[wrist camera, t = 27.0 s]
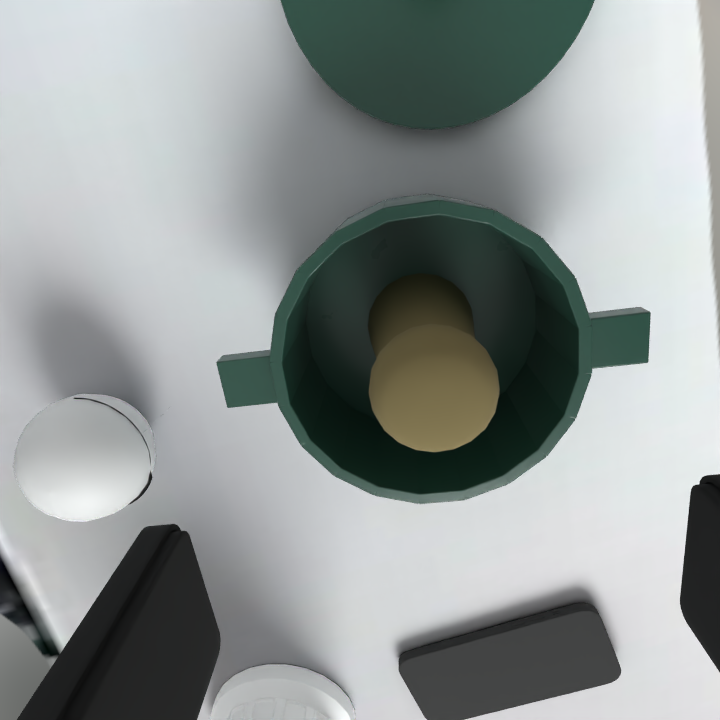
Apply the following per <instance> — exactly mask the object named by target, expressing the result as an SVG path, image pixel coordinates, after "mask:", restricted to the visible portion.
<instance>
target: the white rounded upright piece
mask: <svg viewBox="0 0 720 720" xmlns="http://www.w3.org/2000/svg"><path fill="white" fill-rule="evenodd" d="M169 408H170V407H169ZM162 415H163V414H162ZM155 460H156V451H155V443H154V436H153V432H152V430H151V428H150V426H149V424H148V422H147V420H146V419H145V418H144V417H143V416H142V415H141V413H140V412H139V411H138V410H137V409H136V408H134V407H133V406H131V405H130V404H128V403H127V402H125V401H123V400H121V399H118V398H115V397H112V396H109V395H100V394H78V395H75V396H71V397H67V398H64V399H62V400H59V401H57V402H54V403H52V404H50V405H48V406H47V407H46V408H44V409H43V410H42V411H40V412H39V413H38V414H37V415H36V416H35V417H34V418H33V419H32V420H31V421H30V422H29V423H28V424H27V425H26V427H25V429H24V430H23V432H22V434H21V435H20V437H19V439H18V442H17V446H16V450H15V455H14V463H13V468H14V473H15V477H16V481H17V483H18V485H19V487H20V489H21V491H22V492H23V494H24V496H25V497H26V499H27V500H28V501H29V502H30V503H31V504H32V505H33V506H34V507H35V508H37V509H38V510H40V511H42V512H44V513H45V514H47V515H50V516H53V517H56V518H60V519H63V520H66V521H77V522H86V521H90V520H94V519H98V518H102V517H105V516H109V515H112V514H114V513H116V512H118V511H119V510H121V509H122V508H124V507H125V506H127V505H129V504H131V503H133V502H134V501H136V500H137V499H139V498H140V497H141V496H142V495H143V494H144V492H145V491H146V490H147V488H148V487H149V485H150V483H151V480H152V472H153V469H154V464H155Z"/></svg>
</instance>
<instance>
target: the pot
mask: <svg viewBox="0 0 720 720" xmlns="http://www.w3.org/2000/svg"><path fill="white" fill-rule="evenodd" d="M418 273H423V274H432V275H438V276H440V277H442V278H444V279H446V280H448V281H451V282H452V283H453V284H454V285H456V286H457V287H458V288H459V289H460V290H461V291H462V292H463V293H464V295H465V296H466V298H467V300H468V302H469V304H470V306H471V308H472V315H473V322H474V334H475V339H476V340H477V341H478V342H479V343H480V344H481V345H482V346H483V347H484V348H485V349H486V350H487V352H488V354H489V356H490V358H491V360H492V361H493V363H494V365H495V367H496V369H497V373H498V381H499V388H500V390H499V397H498V402H497V406H496V411H495V414H494V415H493V417H492V419H491V420H490V422H489V424H488V425H487V427H486V429H485V430H483V431H482V432H481V433H480V434H479V435H478V436H477V437H476V438H474V439H473V440H472V441H471V442H469V443H466V444H464V445H462V446H460V447H458V448H456V449H452V450H446V451H440V452H429V451H420V450H415V449H412V448H410V447H408V446H405V445H403V444H401V443H399V442H397V441H396V440H395V439H394V438H393V437H391V436H390V435H389V434H388V433H387V432H386V431H384V429H383V427H382V426H381V424H380V422H379V421H378V419H377V418H376V416H375V414H374V412H373V410H372V406H371V401H370V397H369V385H370V377H371V369H372V367H373V365H374V363H375V361H376V356H375V353H374V350H373V347H372V344H371V340H370V336H369V331H368V321H369V313H370V310H371V308H372V305H373V303H374V301H375V299H376V297H377V296H378V295H379V294H380V293H381V292H382V291H383V289H384V288H385V287H386V286H387V285H388V284H390V283H392V282H394V281H396V280H397V279H399V278H401V277H403V276H408V275H413V274H418ZM649 335H650V312H649V311H647V310H645V309H643V308H642V307H635V308H626V309H618V310H609V311H601V312H592V313H588V311H587V308H586V305H585V302H584V299H583V297H582V294H581V291H580V288H579V285H578V283H577V280H576V278H575V276H574V275H573V274H572V272H571V271H570V270H569V269H568V268H567V266H566V265H565V264H564V263H563V262H562V260H561V259H560V258H559V257H558V256H557V254H556V253H555V252H554V251H553V250H552V248H551V247H550V246H549V245H548V244H547V242H546V241H545V240H544V239H543V238H541V236H539V235H538V234H536V233H534V232H532V231H531V230H529V229H527V228H525V227H524V226H522V225H520V224H518V223H517V222H515V221H513V220H512V219H510V218H508V217H506V216H505V215H503V214H501V213H499V212H498V211H496V210H493V209H490V208H487V207H484V206H481V205H478V204H475V203H472V202H469V201H464V200H459V199H453V198H448V197H443V196H437V195H432V194H422V195H415V196H405V197H401V198H394V199H387V200H386V201H385V200H384V201H382V202H380V203H378V204H376V205H374V206H372V207H370V208H368V209H366V210H364V211H362V212H360V213H358V214H356V215H354V216H352V217H350V218H348V219H347V220H346V221H345V222H344V223H343V224H342V225H341V226H340V227H339V228H338V229H337V230H336V231H335V232H334V233H333V234H332V235H331V236H330V237H329V238H328V239H327V240H326V241H325V242H324V243H323V244H322V245H321V246H320V247H319V248H318V249H317V250H316V251H315V252H314V253H313V254H312V255H311V256H310V257H309V258H308V259H307V260H306V261H305V262H304V263H303V264H302V265H301V266H300V267H299V268H298V270H297V271H296V272H295V274H294V276H293V278H292V281H291V283H290V285H289V287H288V289H287V291H286V293H285V295H284V297H283V299H282V301H281V303H280V305H279V307H278V309H277V311H276V313H275V318H274V326H273V334H272V342H271V350H265V351H257V352H248V353H240V354H231V355H223V356H222V357H221V358H220V359H219V360H218V361H217V367H218V371H219V375H220V379H221V383H222V387H223V391H224V395H225V400H226V404H227V407H228V408H231V407H240V406H250V405H259V404H268V403H278V406H279V408H280V410H281V412H282V414H283V415H284V417H285V419H286V420H287V422H288V424H289V426H290V427H291V429H292V431H293V433H294V434H295V436H296V438H297V439H298V441H299V443H300V445H302V447H303V448H304V449H305V450H306V451H307V452H308V453H309V454H311V455H312V456H313V457H314V458H315V459H316V460H317V461H318V462H319V463H320V464H322V465H323V466H324V467H325V468H326V469H327V470H328V471H329V472H330V473H331V474H332V475H335V477H337V478H339V479H341V480H343V481H346V482H348V483H350V484H352V485H354V486H356V487H358V488H360V489H362V490H364V491H366V492H368V493H370V494H372V495H375V496H379V497H384V498H390V499H395V500H401V501H406V502H412V503H417V504H425V503H437V502H449V501H461V500H466V499H469V498H472V497H474V496H477V495H480V494H483V493H485V492H488V491H491V490H494V489H496V488H499V487H502V486H505V485H507V484H508V483H511V482H512V481H514V480H515V479H516V478H518V477H519V476H521V475H522V474H523V473H525V472H526V471H527V470H529V469H530V468H532V467H533V466H534V465H536V464H537V463H539V462H540V461H541V460H543V459H544V458H546V456H548V454H549V453H550V452H551V450H552V449H553V448H554V447H555V445H556V444H557V443H558V441H559V440H560V439H561V437H562V436H563V435H564V434H565V432H566V431H567V430H568V428H569V427H570V426H571V424H572V423H573V422H574V421H575V418H576V417H577V414H578V411H579V408H580V406H581V403H582V400H583V397H584V394H585V392H586V389H587V386H588V383H589V381H590V378H591V373H592V369H594V368H603V367H613V366H622V365H631V364H641V363H647V362H648V356H649Z"/></svg>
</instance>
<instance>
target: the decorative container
mask: <svg viewBox="0 0 720 720" xmlns="http://www.w3.org/2000/svg"><path fill="white" fill-rule="evenodd" d="M210 720H356V717H355V710H354V708H353V706H352V704H351V701H350V699H349V697H348V696H347V695H346V694H345V693H344V692H343V691H342V690H341V688H340V687H339V686H338V685H336V684H335V683H334V682H332V681H331V680H329V679H328V678H326V677H325V676H323V675H321V674H318V673H316V672H314V671H311V670H309V669H306V668H302V667H297V666H292V665H287V664H266V665H261V666H257V667H252V668H248V669H246V670H244V671H242V672H240V673H238V674H235V675H234V676H233V677H231V678H230V679H229V680H228V681H227V682H226V683H225V684H224V685H223V686H222V688H221V689H220V691H219V693H218V695H217V696H216V699H215V702H214V705H213V708H212V711H211V717H210Z"/></svg>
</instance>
